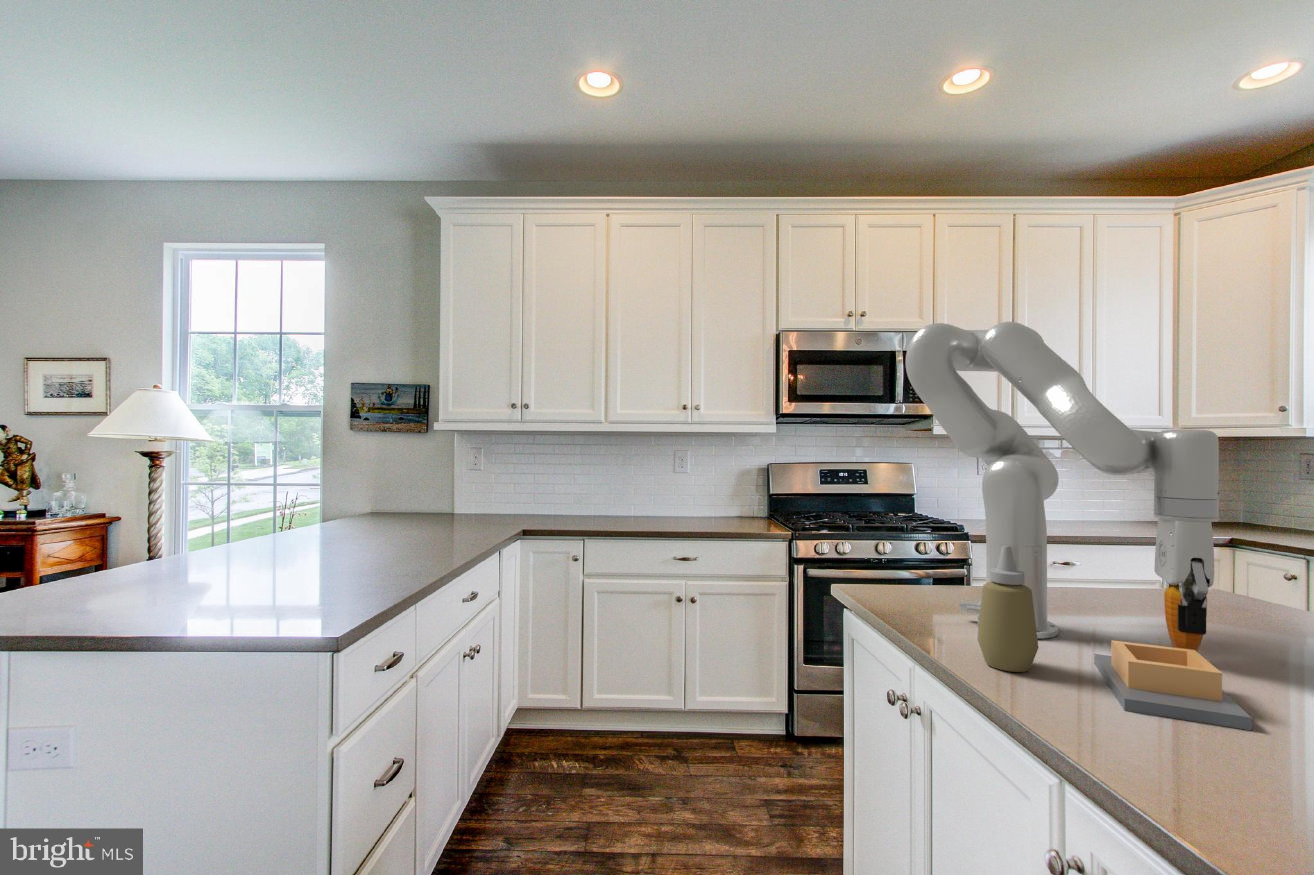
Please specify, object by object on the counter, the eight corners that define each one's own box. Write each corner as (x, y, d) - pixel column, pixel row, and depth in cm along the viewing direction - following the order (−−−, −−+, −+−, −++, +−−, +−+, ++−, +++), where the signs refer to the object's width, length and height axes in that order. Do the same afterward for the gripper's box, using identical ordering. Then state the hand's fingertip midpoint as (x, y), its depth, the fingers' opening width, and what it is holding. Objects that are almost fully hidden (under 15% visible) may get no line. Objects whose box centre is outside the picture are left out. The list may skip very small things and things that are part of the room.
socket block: (1124, 710, 76) (1124, 670, 76) (1094, 663, 92) (1094, 630, 92) (1251, 730, 70) (1251, 687, 71) (1195, 676, 87) (1195, 642, 87)
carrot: (1155, 656, 95) (1155, 561, 95) (1184, 655, 95) (1184, 560, 95) (1185, 668, 90) (1186, 567, 90) (1216, 667, 90) (1216, 567, 90)
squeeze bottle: (1031, 660, 93) (1030, 544, 94) (1045, 679, 86) (1045, 552, 86) (973, 654, 96) (972, 541, 96) (982, 672, 88) (981, 549, 89)
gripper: (1139, 503, 102) (1139, 610, 102) (1172, 514, 87) (1172, 640, 87) (1196, 505, 99) (1196, 616, 99) (1241, 517, 84) (1241, 648, 83)
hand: (1185, 626), depth 93 cm, fingers closed on carrot, 4 cm apart
